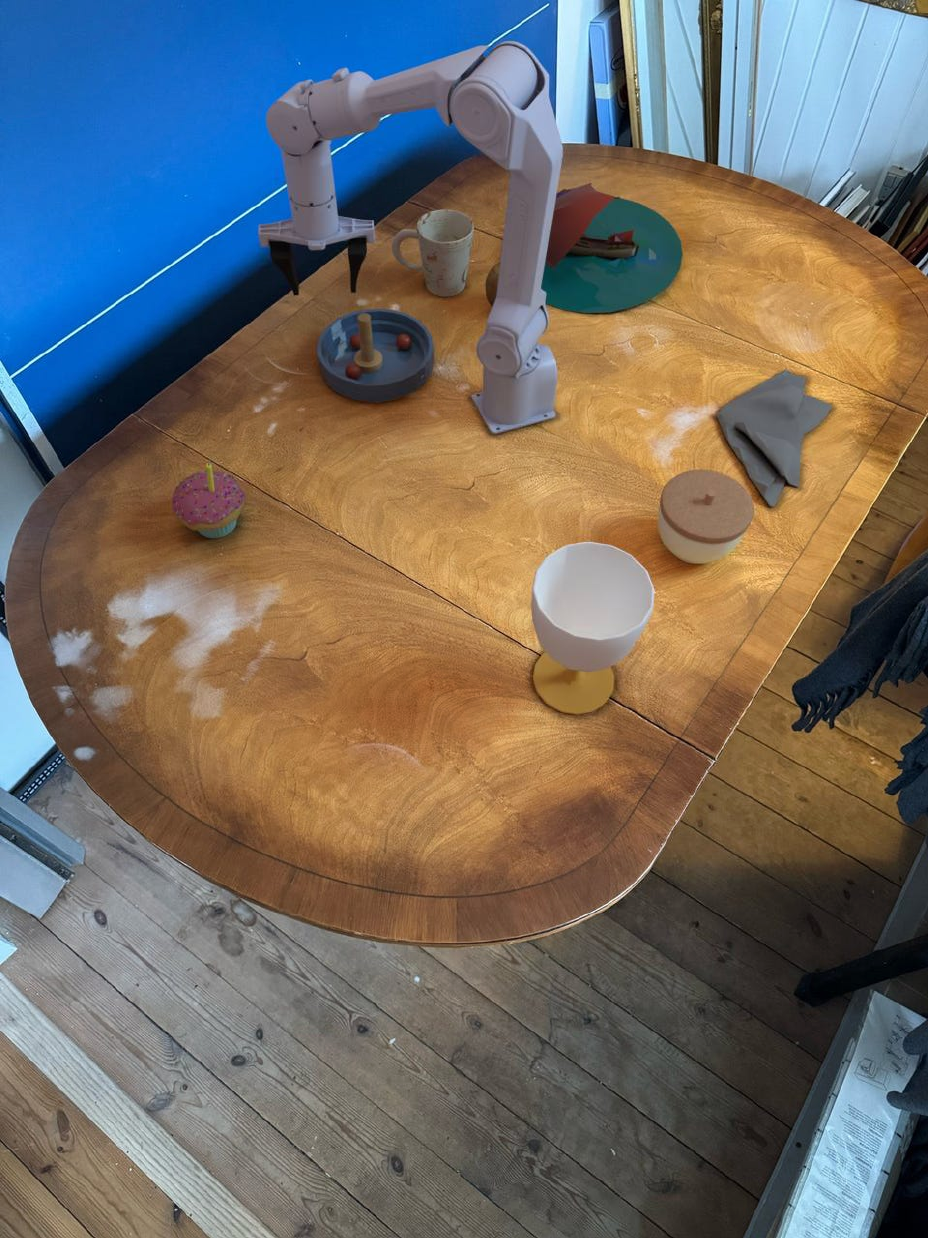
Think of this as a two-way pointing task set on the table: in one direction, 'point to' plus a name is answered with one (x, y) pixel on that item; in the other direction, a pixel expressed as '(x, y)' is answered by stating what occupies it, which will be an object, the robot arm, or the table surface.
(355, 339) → the bead
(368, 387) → the bowl
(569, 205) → the toy sailboat
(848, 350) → the table surface
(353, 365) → the bead
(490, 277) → the fruit
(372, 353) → the pestle
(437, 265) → the mug
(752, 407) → the cloth
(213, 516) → the cupcake
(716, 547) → the trinket box
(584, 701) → the cup
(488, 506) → the table surface
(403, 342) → the bead
